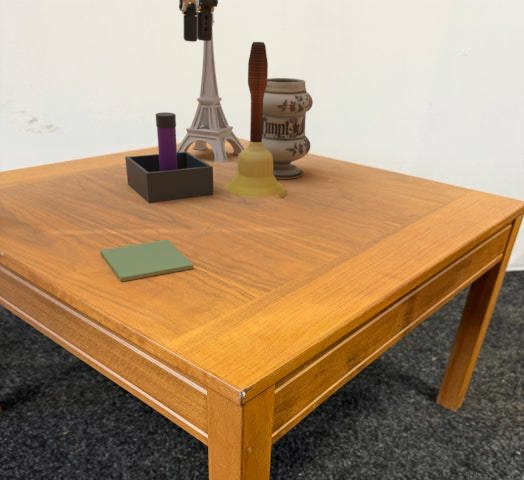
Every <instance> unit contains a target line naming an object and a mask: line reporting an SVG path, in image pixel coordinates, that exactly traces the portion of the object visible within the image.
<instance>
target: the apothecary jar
mask: <svg viewBox="0 0 524 480" xmlns="http://www.w3.org/2000/svg"><path fill="white" fill-rule="evenodd" d="M313 104H314V101H313V98H312V95H310V94H309V92H308V91H307V88H306V80H304V79H300V78H291V77H269V78H268V77H267V86H266V90H265V93H264V98H263V121H262V144H263V147H264V148H265V149H266V150H268V151H269V152H270V153H271V154H272V157H273V175H274V177H275V178H276V180H293V179H297V178H300V177H303V175H304V171H303V169H302V168H300V167H298V166H296V165H294V164H291V163H292V162H295V161H299V160H300V159H302V158H304V157H305V156H307V154H308V153H309V152H310V151H311V142H310V139H309V138H308V136H306V116H307V113H308V112H309V111H310V110H311V109H312V108H313Z"/></svg>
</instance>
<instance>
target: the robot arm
mask: <svg viewBox="0 0 524 480" xmlns="http://www.w3.org/2000/svg"><path fill="white" fill-rule="evenodd" d="M178 3H179V4H178V10H179V11H180V12H181V14H182V15H183V40H184V41H185V42H190V43H191V42H193V43H194V42H195V43H196V42H197V41H202V42H204V41H210V40H211V38H212V29H213V27H212V13H214V11H215V8H217V7H218V4H219V0H179V1H178ZM211 12H212V13H211Z"/></svg>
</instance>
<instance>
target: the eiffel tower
mask: <svg viewBox="0 0 524 480" xmlns="http://www.w3.org/2000/svg"><path fill="white" fill-rule="evenodd" d="M211 13H212V38H211V40H210V41H203V51H202V53H203V54H202V69H201V81H200V82H201V84H200V89H199V90H200V91H199V97H197V98H196V101H197V107H196V110H195V113H194V116H193V120H192V122H191V125H190V127H187V128H186V129H185V130H186V132H187V133H186V134H185V136H184V137H183V139H182V140H181V142H180V143H179V145H178V146H177V152H188V150H189V148H190V147H191V146H192V145H193V144H194V145H193V146H192V150H198V151H204V150H207V149H208V148H209V146H210V148H211V149H212V151H213V155H214V156H213V157H214V160H213V161H214V162H213V163H230V161H229V159H228V156H227V153H226V146H225V145H226V142H228V143H229V144H230V146H231V147H232V149H233V152H232V154H233V155H235V156H236V155H237V156H239V154H240V152H241V151H243V150H244V149H246V147H244V144H242V142H241V141H240V139H239V138H238V137H237V135H236V134H235V133H234V131H233V129H234V126H231V125H229V122H228V120H227V117H226V115H225V113H224V110H223V107H222V104H221V101H222V97H220V95H219V88H218V81H217V80H218V79H217V71H216V63H215V51H214V49H215V48H214V33H213V32H214V31H213V27H214V23H215V19H214V12H211ZM207 144H208V145H209V146H208V145H207Z"/></svg>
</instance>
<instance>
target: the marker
mask: <svg viewBox="0 0 524 480" xmlns="http://www.w3.org/2000/svg"><path fill="white" fill-rule="evenodd" d="M176 118H177V117H176V113H174V112H165V111H164V112H158V113H155V127H156V134H157V148H158V149H157V150H158V154H159V165H160V171H168V170H178V167H177V148H178V146H177V128H176V127H177V119H176Z"/></svg>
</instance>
